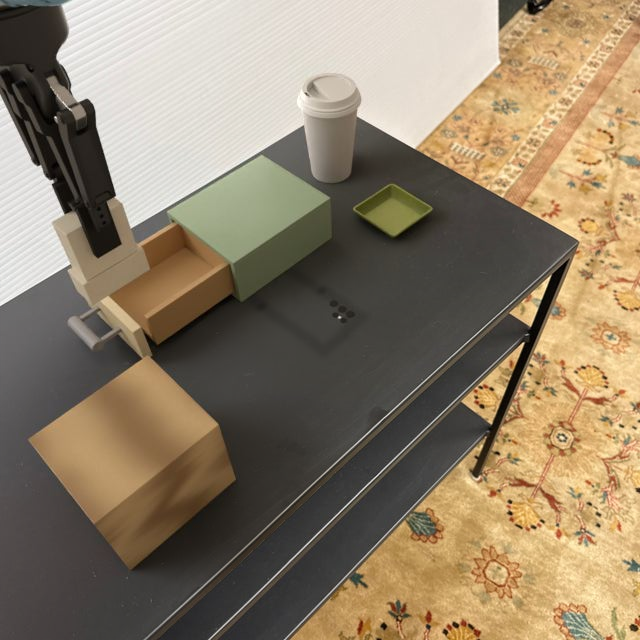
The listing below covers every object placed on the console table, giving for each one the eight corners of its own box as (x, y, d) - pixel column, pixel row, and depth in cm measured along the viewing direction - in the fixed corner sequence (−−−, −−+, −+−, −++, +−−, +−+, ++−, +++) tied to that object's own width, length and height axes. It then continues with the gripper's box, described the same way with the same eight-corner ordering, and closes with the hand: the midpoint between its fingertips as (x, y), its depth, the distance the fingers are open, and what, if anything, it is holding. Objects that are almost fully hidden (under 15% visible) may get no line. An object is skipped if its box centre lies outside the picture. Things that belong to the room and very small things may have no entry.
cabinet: (241, 302, 88) (233, 263, 82) (177, 251, 95) (166, 211, 89) (332, 237, 96) (330, 197, 90) (267, 194, 103) (261, 154, 97)
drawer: (116, 381, 80) (101, 353, 75) (60, 323, 86) (44, 294, 81) (244, 290, 88) (239, 260, 84) (186, 244, 95) (177, 213, 90)
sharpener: (92, 306, 64) (62, 238, 57) (76, 290, 66) (45, 223, 59) (150, 269, 67) (128, 201, 60) (134, 255, 69) (110, 187, 62)
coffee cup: (299, 156, 109) (293, 73, 97) (356, 150, 109) (356, 67, 97) (305, 192, 103) (299, 108, 91) (364, 186, 103) (366, 101, 91)
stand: (130, 570, 66) (93, 524, 56) (69, 492, 71) (27, 439, 62) (236, 479, 72) (219, 424, 62) (172, 414, 77) (147, 354, 68)
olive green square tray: (351, 218, 98) (351, 208, 97) (391, 192, 102) (391, 182, 100) (393, 247, 94) (393, 236, 92) (433, 218, 97) (434, 208, 96)
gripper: (106, 3, 42) (178, 260, 60) (-6, -57, 50) (88, 188, 68) (0, 45, 39) (110, 304, 57) (-103, -26, 46) (23, 223, 64)
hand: (98, 240), depth 62 cm, fingers closed on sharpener, 3 cm apart
